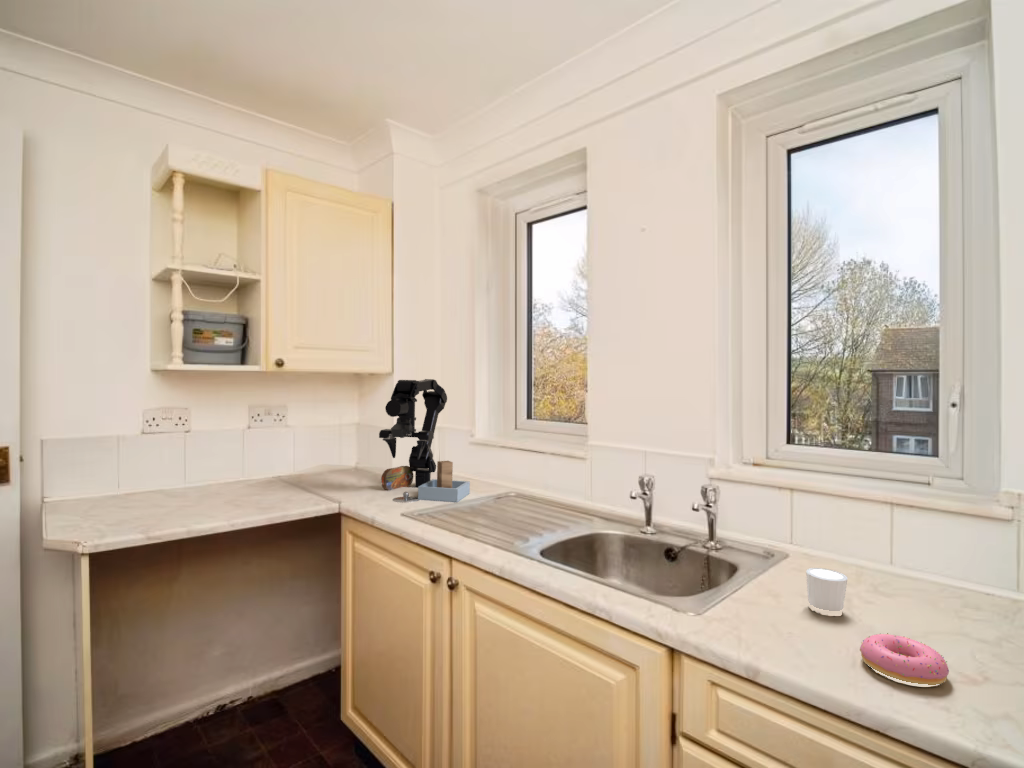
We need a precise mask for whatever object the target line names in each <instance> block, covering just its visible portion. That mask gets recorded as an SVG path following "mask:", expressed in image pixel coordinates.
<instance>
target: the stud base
mask: <svg viewBox="0 0 1024 768" xmlns="http://www.w3.org/2000/svg"><path fill="white" fill-rule="evenodd" d="M418 501H419V500H418V496H417V497H416V496H410V493H409V492H408V491H405V492H403V493H402V496H398V497H394V498H392V502H394V503H402V504H403V503H406V504H407V503H408V504H409V503H415V502H418Z"/></svg>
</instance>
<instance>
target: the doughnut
mask: <svg viewBox="0 0 1024 768" xmlns="http://www.w3.org/2000/svg"><path fill="white" fill-rule="evenodd" d="M860 643H861V644H860V647H859V651H860V654H861V655H860V656H861V659H862V660H863V663H864V664H865V665H866V664H868V665H869V666H870V667H872V668H873V669H875V670H877V671H879V672H881V673H883V674H885V675H887V676H890V677H893V678H896V679H899V680H902V681H906V682H911V683H918V684H928V685H936V684H941V683H943V682H944V681H945V682H946V681H947V678H948V676H949V672H950V670H949V666H948V661H946V660H945V659H944V658H945V657H944V656H943V655H942V654H940V652H939V651H937V650H935V649H934V648H932V647H931V646H930V645H927V644H926V643H923V642H922V641H918V640H916V639H912V638H910V637H907V636H906V637H905V636H900V635H895V634H889V632H887V633H882V634H881V633H879V634H872V635H869V636H867V637H866V638H864V639H863V640H862V641H861V642H860ZM945 682H944V683H945ZM944 683H943V684H944ZM941 685H942V684H941Z"/></svg>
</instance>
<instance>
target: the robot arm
mask: <svg viewBox="0 0 1024 768" xmlns="http://www.w3.org/2000/svg"><path fill="white" fill-rule="evenodd" d="M420 392H422V394H421V395H422V397H423V400H424V407H425V409H426V412H425V414H424V415H425V416H424V419H423V424H422V427H421V431H418V432H417V429H416V427H415V425H416V420H417V417H416V403H417V402H418V399H417V398H416V396H417V395H419V394H420ZM447 401H448V394H447V393H446V391H445V389H444V387H442V386H441V385H440V384H438V381H437V380H436V379H434V378H433V379H431V378H430V379H429V378H424V379H421V380H416V379H398V380H397V382H396V383H395V385H394V388H393V391H392V394H391V397H390V400H389V401H388V402H387V403H386V405H385V412H386V415H388V416H389V417H392V418H394V417H395V418H396V417H397V418H396V422H395V424H394V425H393V426H392V427H390V428H384V429H381V430H380V431H379V433H378V438H379V439H382V441H385V443H386V444H387V445H388V447H389V450H390V453H391V456H392V458H393V459H396V455H397V438H400V439H403V438H417V439H418V440H416V443H417V444H416V445H413V446H412V447H411V451H410V454H409V457H408V463H409V464H408V466H409V467H410V471H413V472H415V476H414V477H415V478H414V479H415V480H414V481H415V482H414V485H413V486H411V488H418V487H419V486H421V485H423V484H425V483H426V482H428V481H430V480H431V474H432V473H435V472H436V471H437V464H436V462H435V459H434V453H433V450H432V449H431V448H432V443H433V439H434V438H435V437H434V436H435V431H436V426H437V422H438V418H439V414H440V413H441V412H442V411H443V410H444V409H445V407H446V403H447Z"/></svg>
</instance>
